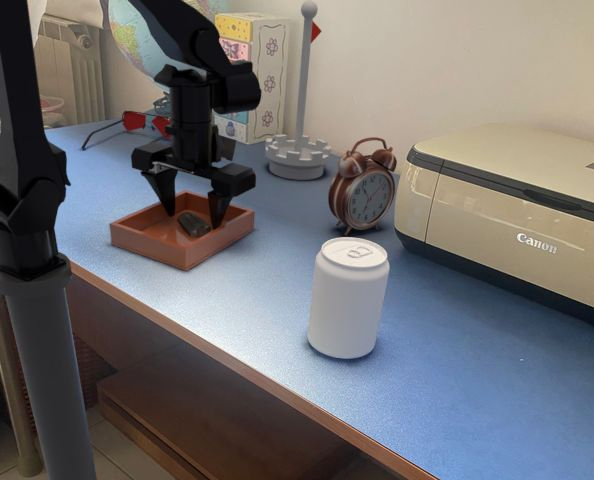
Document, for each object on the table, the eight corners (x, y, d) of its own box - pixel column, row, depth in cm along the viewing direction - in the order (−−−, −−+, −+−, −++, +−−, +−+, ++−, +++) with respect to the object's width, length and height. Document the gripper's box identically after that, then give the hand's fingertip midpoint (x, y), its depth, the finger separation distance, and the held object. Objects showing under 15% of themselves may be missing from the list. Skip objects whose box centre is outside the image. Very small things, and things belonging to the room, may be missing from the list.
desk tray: (186, 271, 81) (185, 249, 79) (111, 244, 86) (109, 223, 84) (254, 230, 94) (254, 210, 92) (185, 208, 99) (185, 189, 97)
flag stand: (307, 186, 112) (324, 6, 95) (251, 170, 117) (258, -4, 100) (339, 170, 122) (360, 3, 104) (286, 155, 127) (297, -6, 109)
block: (194, 220, 94) (194, 209, 93) (213, 234, 90) (214, 223, 89) (174, 224, 92) (173, 213, 91) (193, 239, 88) (193, 228, 87)
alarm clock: (339, 240, 94) (352, 145, 85) (322, 228, 97) (332, 135, 88) (390, 229, 99) (408, 138, 90) (372, 218, 102) (387, 130, 93)
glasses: (181, 141, 129) (180, 117, 126) (142, 161, 116) (141, 136, 113) (124, 130, 132) (122, 107, 129) (81, 149, 119) (77, 124, 116)
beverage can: (292, 339, 70) (301, 247, 63) (338, 317, 75) (350, 229, 68) (343, 371, 65) (358, 276, 58) (388, 346, 70) (407, 255, 63)
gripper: (278, 120, 84) (272, 222, 93) (174, 96, 91) (177, 193, 100) (235, 136, 76) (232, 246, 85) (124, 108, 82) (133, 213, 91)
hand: (193, 223), depth 90 cm, fingers open, 8 cm apart
